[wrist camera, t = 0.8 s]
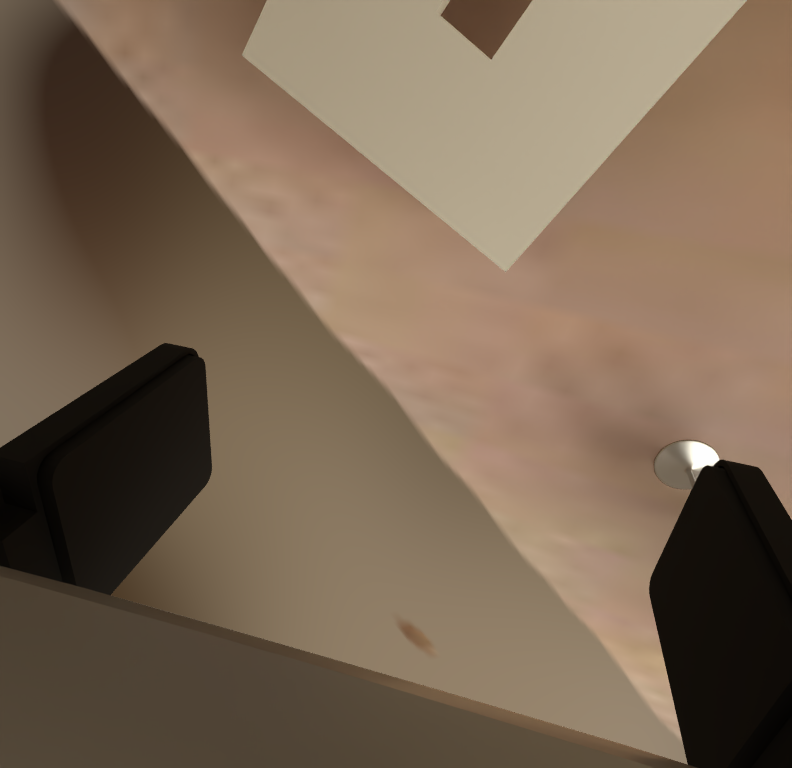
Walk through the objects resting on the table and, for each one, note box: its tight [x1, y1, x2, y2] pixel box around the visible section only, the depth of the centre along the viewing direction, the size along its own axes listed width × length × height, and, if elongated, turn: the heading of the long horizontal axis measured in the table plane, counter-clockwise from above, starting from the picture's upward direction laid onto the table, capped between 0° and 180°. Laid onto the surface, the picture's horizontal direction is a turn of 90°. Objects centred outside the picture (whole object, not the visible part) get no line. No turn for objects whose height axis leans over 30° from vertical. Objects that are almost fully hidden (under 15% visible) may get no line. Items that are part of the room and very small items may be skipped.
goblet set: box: [654, 440, 720, 489], centre depth 38 cm, size 28×6×13 cm, turn 34°
